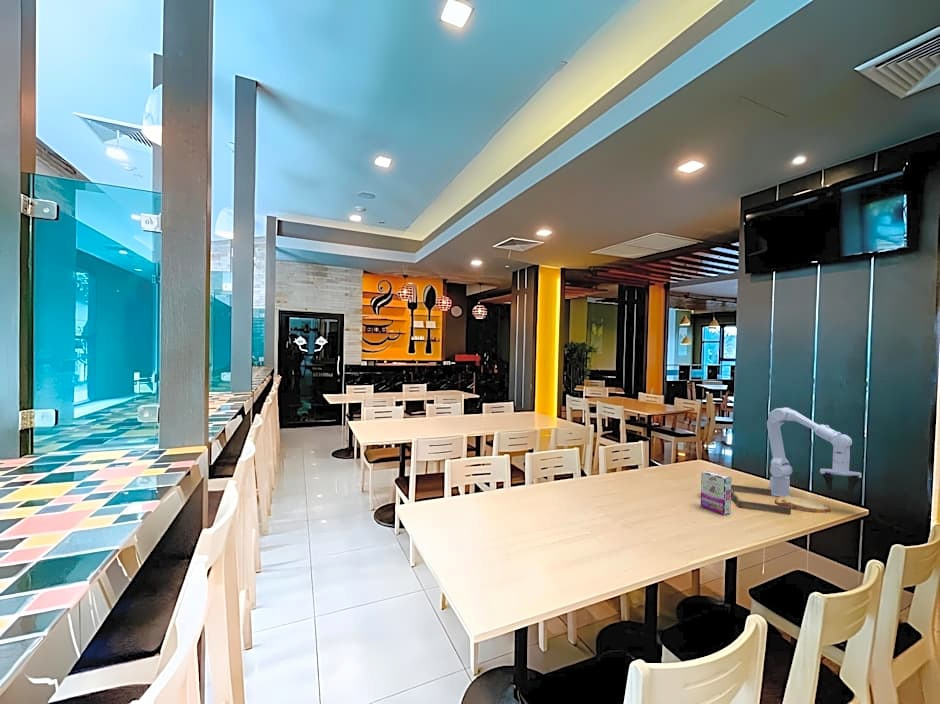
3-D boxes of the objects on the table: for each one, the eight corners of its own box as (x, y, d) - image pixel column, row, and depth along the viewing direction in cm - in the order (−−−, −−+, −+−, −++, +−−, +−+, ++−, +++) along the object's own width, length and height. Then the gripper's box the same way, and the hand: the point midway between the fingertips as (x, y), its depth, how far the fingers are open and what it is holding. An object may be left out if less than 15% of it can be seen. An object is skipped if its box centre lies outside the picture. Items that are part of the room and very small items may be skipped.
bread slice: (834, 511, 190) (834, 502, 190) (816, 518, 181) (816, 509, 181) (789, 498, 206) (789, 490, 206) (770, 503, 197) (771, 496, 197)
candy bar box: (731, 513, 183) (732, 477, 183) (724, 515, 180) (725, 478, 180) (706, 504, 193) (707, 470, 192) (699, 506, 190) (701, 471, 190)
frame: (724, 489, 215) (725, 483, 215) (770, 495, 208) (770, 489, 208) (738, 507, 190) (738, 501, 190) (790, 514, 184) (790, 507, 184)
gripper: (825, 461, 187) (824, 491, 187) (865, 465, 182) (864, 496, 182) (818, 457, 194) (817, 486, 194) (857, 461, 189) (856, 491, 189)
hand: (839, 490), depth 189 cm, fingers open, 7 cm apart
